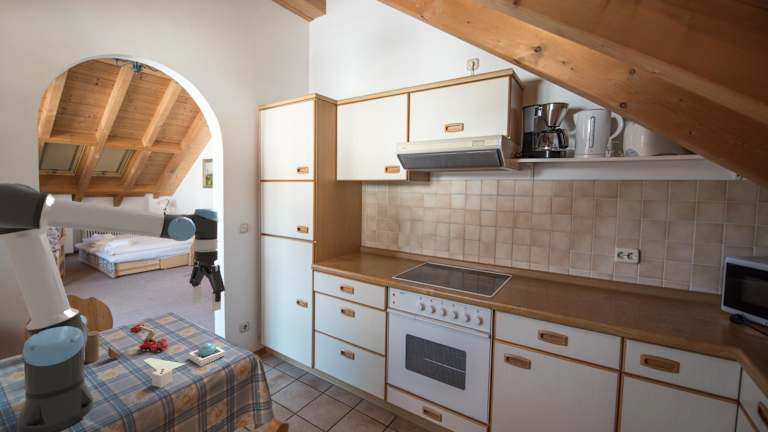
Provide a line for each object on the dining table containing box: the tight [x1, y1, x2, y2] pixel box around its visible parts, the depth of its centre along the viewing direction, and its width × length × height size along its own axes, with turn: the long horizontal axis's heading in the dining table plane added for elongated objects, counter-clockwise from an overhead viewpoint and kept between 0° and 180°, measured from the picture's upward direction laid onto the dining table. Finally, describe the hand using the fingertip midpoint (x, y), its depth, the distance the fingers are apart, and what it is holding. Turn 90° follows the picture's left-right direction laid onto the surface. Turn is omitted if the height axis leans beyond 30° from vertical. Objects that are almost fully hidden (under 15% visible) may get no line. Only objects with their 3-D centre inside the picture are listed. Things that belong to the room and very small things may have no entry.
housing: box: [188, 346, 226, 367], centre depth 126 cm, size 9×9×2 cm
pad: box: [142, 357, 185, 371], centre depth 124 cm, size 10×15×1 cm, turn 54°
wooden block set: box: [84, 330, 122, 364], centre depth 120 cm, size 18×9×10 cm, turn 144°
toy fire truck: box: [129, 323, 169, 353], centre depth 132 cm, size 3×14×10 cm, turn 84°
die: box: [151, 368, 174, 388], centre depth 110 cm, size 4×4×4 cm
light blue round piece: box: [197, 342, 217, 357], centre depth 126 cm, size 6×6×4 cm
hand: (206, 306), depth 127 cm, fingers open, 13 cm apart
